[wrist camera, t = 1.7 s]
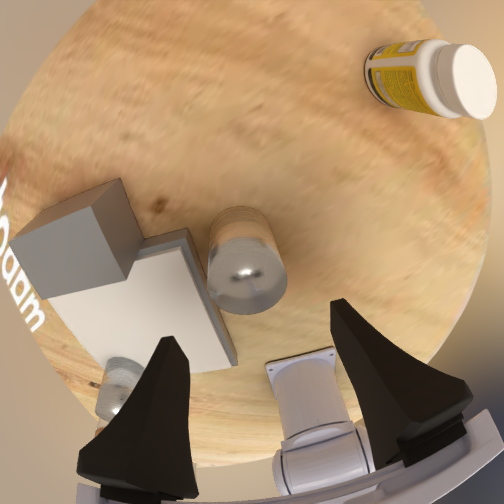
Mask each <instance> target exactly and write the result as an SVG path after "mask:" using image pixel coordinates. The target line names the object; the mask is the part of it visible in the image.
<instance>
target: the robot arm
mask: <svg viewBox="0 0 504 504" xmlns="http://www.w3.org/2000/svg"><path fill="white" fill-rule="evenodd" d="M330 331H331V334H332V337H333V340H334V344H335V347H336V350H337V352H338V354H339V356H340V359H341V361H342V363H343V365H344V367H345V370H346V372H347V374H348V376H349V378H350V381H351V383H352V385H353V387H354V390H355V392H356V395H357V398H358V401H359V405H360V408H361V411H362V415H363V419H364V422H365V426H366V428H365V427H362V426H361V425H359V426H356V427H354V424H353V421H352V420H351V421H350V418H349V415H348V412H347V409H346V406H345V403H344V400H343V397H342V394H341V391H340V388H339V385H338V382H337V379H336V377H335V374H334V373H335V357H336V350H335V348H334V347H331V348H327V349H324V350H320V351H316V352H313V353H309V354H305V355H301V356H297V357H293V358H289V359H284V360H280V361H275V362H271V363H267V364H266V365H265V367H266V370H267V374H268V377H269V380H270V383H271V386H272V389H273V392H274V395H275V398H276V400H277V402H278V407H279V413H280V418H281V423H282V429H283V434H284V439H285V441H281V446H282V449H279V450H277V451H276V453H275V455H274V456H273V460H272V469H273V476H274V481H275V484H276V487H277V489H278V491H279V493H280V494H281V497H274V498H266V499H259V500H248V501H235V502H209V503H208V502H205V503H204V502H177V501H176V500H183V499H184V498H186V499H195V498H196V497H197V496H198V495H199V492H198V488H197V484H196V479H195V475H194V469H193V464H192V457H191V450H190V441H189V429H188V416H189V397H190V366H189V360H188V358H187V357H186V355H185V353H184V352H183V350H182V349H181V347H180V346H179V344H178V342H177V341H176V339H175V337H174V336H166V337H161V339H160V341H159V343H158V345H157V346H156V348H155V350H154V352H153V354H152V356H151V358H150V360H149V362H148V364H147V366H146V368H145V370H144V372H143V374H142V375H141V377H140V379H139V381H138V382H137V384H136V386H135V388H134V389H133V391H132V393H131V394H130V396H129V397H128V399H127V400H126V402H125V403H124V405H123V406H122V407H121V409H120V410H119V411H118V413H117V414H116V415H115V416H114V417H113V419H112V420H111V421H110V422H109V423H108V425H107V426H106V427H105V428H104V429H103V430H102V431H101V432H100V433H99V434H98V435H97V436H96V437H95V438H94V439H93V440H92V441H90V442H89V443H88V444H87V445H86V446H84V447H83V448H82V449H81V450H80V451H79V457H78V463H77V473H78V475H80V476H82V477H84V478H86V479H89V480H91V481H93V482H96V483H98V484H101V488H96V487H93V486H89V485H85V484H82V483H78V484H77V495H76V504H431V503H433V502H434V501H436V500H438V499H439V498H441V497H442V496H444V495H445V494H447V493H448V492H450V491H451V490H453V489H454V488H455V487H457V486H458V485H460V484H461V483H463V482H464V481H465V480H467V479H468V478H469V477H471V476H472V475H473V474H475V473H476V472H477V471H478V470H480V469H481V468H482V467H483V466H485V465H486V464H487V463H488V462H490V461H491V460H492V459H493V458H495V457H496V456H497V455H498V454H499V453H500V452H502V451H503V450H504V444H503V441H502V439H501V437H500V435H499V432H498V430H497V428H496V426H495V424H494V422H493V419H492V418H491V415H490V413H489V411H488V409H485V410H483V411H482V412H481V413H479V414H478V415H477V416H475V417H474V418H472V419H471V420H469V421H468V422H467V423H465V424H464V425H463V423H462V420H463V419H464V417H463V415H462V413H461V412H462V411H463V410H464V409H465V408H466V407H467V406H468V405H469V404H470V402H471V401H472V400H473V397H474V396H473V394H472V392H471V390H470V389H469V387H468V385H467V384H466V383H465V381H464V380H461V379H458V378H456V377H453V376H450V375H447V374H445V373H443V372H440V371H438V370H436V369H434V368H432V367H430V366H428V365H427V364H425V363H423V362H421V361H419V360H417V359H416V358H414V357H412V356H411V355H409V354H408V353H406V352H405V351H403V350H402V349H400V348H399V347H397V346H396V345H395V344H393V343H392V342H391V341H389V340H388V339H387V338H386V337H384V336H383V335H382V334H381V333H380V332H378V331H377V330H376V329H375V328H374V327H373V326H372V325H371V324H369V323H368V322H367V321H366V320H365V319H364V318H363V317H362V316H361V315H360V314H359V313H358V312H357V311H356V310H355V309H354V308H353V307H352V306H351V305H350V304H349V303H348V302H347V301H346V300H345V299H344V298H342V299H338V300H335V301H331V302H330ZM355 428H356V431H355Z"/></svg>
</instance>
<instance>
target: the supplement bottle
mask: <svg viewBox="0 0 504 504" xmlns="http://www.w3.org/2000/svg"><path fill="white" fill-rule="evenodd" d="M365 77H366V81H367V84H368V87H369V89H370V90H371V92H372V93H373V95H374V96H375V97H376V98H377V99H378V100H379V101H381V102H382V103H384V104H386V105H388V106H391V107H394V108H400V109H406V110H411V111H417V112H422V113H427V114H431V115H435V116H440V117H444V118H450V119H453V118H458V117H461V116H465V117H470V118H474V119H485V118H487V117H488V116H490V115H491V113H492V112H493V110H494V107H495V104H496V99H497V98H496V97H497V87H496V80H495V76H494V73H493V70H492V68H491V65H490V63H489V62H488V60H487V59H486V57H485V56H484V54H483V53H482V52H481V51H479V50H478V49H477V48H475V47H473V46H472V45H467V44H450V43H449V42H446V41H444V40H440V39H427V40H419V41H412V42H405V43H399V44H393V45H388V46H383V47H379V48H377V49H375V50H374V51H372V52H371V53H370V55H369V56H368V58H367V60H366V64H365Z"/></svg>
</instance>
